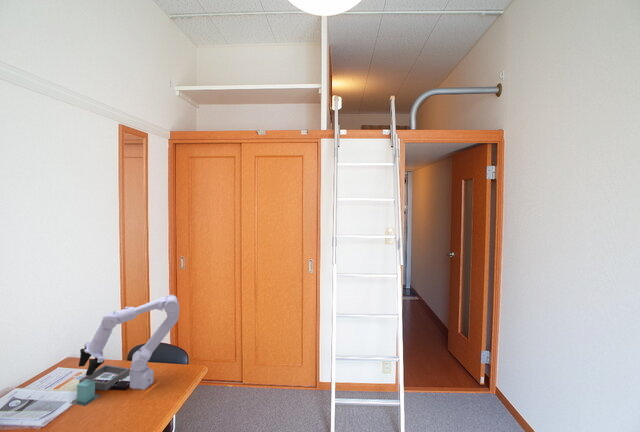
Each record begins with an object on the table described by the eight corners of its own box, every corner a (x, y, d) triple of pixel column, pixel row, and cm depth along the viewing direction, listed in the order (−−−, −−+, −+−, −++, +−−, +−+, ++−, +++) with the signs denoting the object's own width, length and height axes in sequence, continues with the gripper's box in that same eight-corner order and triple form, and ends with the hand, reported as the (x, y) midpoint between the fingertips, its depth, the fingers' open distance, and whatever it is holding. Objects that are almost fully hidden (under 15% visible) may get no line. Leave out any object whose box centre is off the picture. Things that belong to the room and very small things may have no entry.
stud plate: (101, 397, 138) (102, 387, 138) (85, 408, 130) (85, 398, 130) (86, 394, 139) (86, 384, 139) (68, 405, 131) (69, 395, 131)
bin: (129, 376, 155) (129, 368, 155) (105, 392, 141) (105, 384, 141) (105, 372, 157) (105, 364, 157) (79, 388, 143) (79, 379, 143)
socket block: (94, 396, 136) (95, 380, 136) (85, 402, 132) (86, 386, 132) (86, 395, 137) (86, 379, 137) (76, 401, 133) (77, 384, 133)
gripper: (83, 332, 140) (68, 362, 138) (97, 348, 132) (81, 380, 130) (99, 333, 146) (85, 361, 144) (114, 347, 138) (99, 378, 136)
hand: (84, 370), depth 137 cm, fingers open, 7 cm apart
